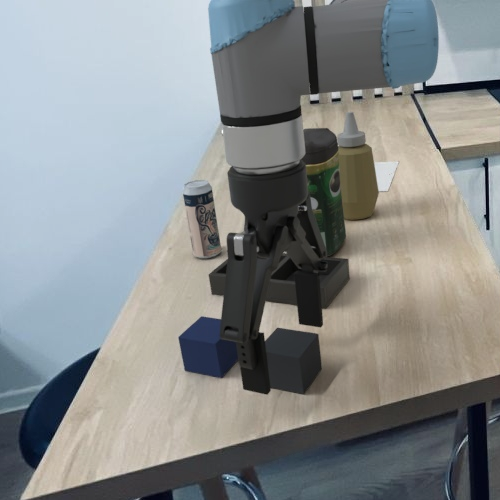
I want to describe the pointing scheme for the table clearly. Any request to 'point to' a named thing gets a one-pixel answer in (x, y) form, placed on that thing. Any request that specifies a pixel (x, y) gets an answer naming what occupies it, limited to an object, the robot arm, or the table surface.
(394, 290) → the table surface
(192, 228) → the beer can
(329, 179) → the coffee jar
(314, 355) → the charcoal cube
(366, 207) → the squeeze bottle
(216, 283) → the divided tray
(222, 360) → the navy blue cube
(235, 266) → the robot arm
